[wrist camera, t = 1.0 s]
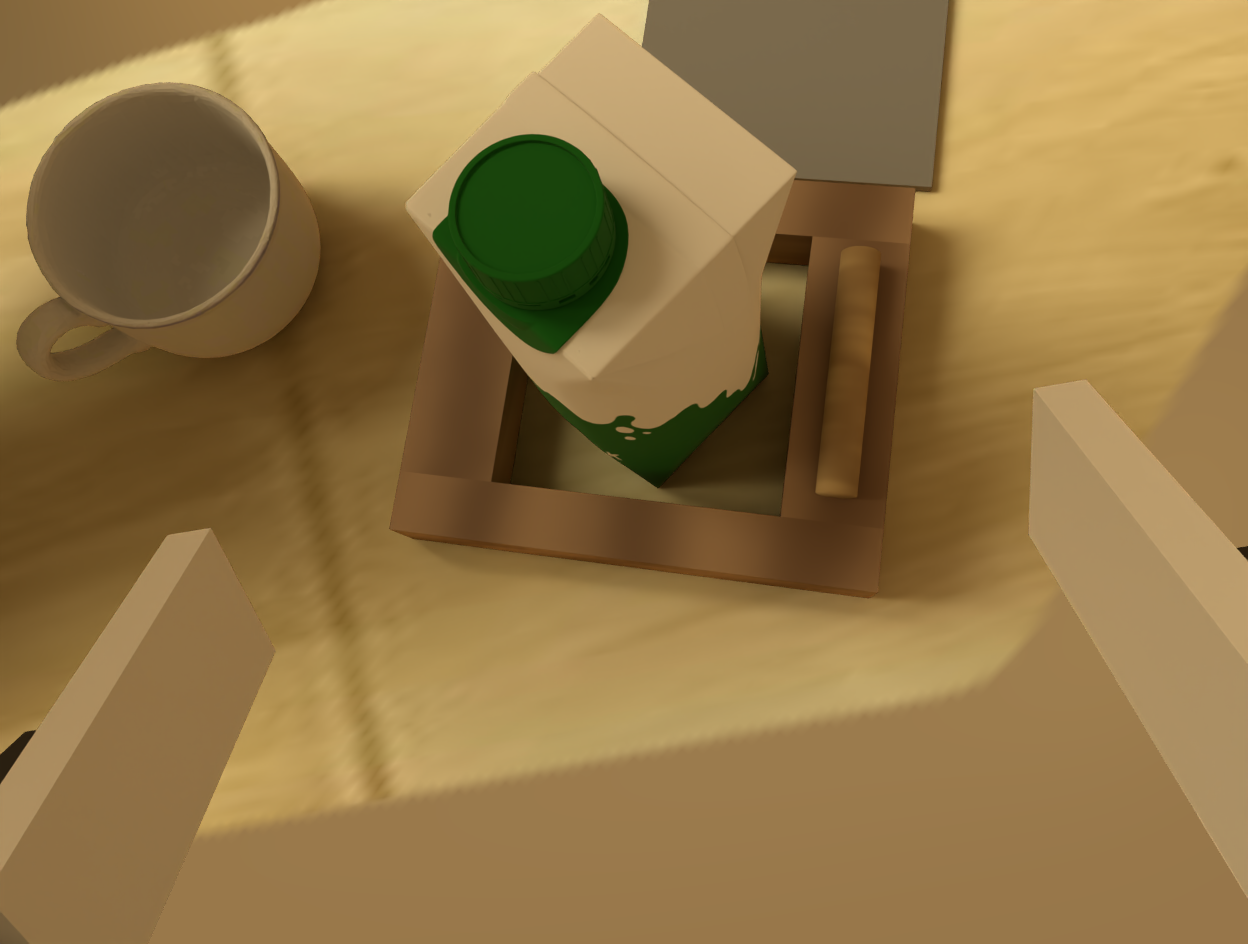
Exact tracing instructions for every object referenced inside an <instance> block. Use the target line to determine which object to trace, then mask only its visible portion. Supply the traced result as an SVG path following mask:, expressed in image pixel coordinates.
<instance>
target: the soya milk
mask: <svg viewBox="0 0 1248 944" xmlns="http://www.w3.org/2000/svg"><path fill="white" fill-rule="evenodd" d="M796 173H797V170H795V169H794V168H793V167H792V166H791V165H789V164H788V163H787V162H786V161H784V160H783V159H782V158H781V157H779V156H778V155H777V154H776V153H774V152H773V151H772V150H771V149H769V148H768V147H767V146H766V145H764V144H763V143H762V142H761V141H759V140H758V139H757V138H756V137H754V136H753V135H752V134H751V133H749V132H748V131H747V130H746V129H744V128H743V127H742V126H741V125H739V124H738V123H737V122H736V121H734V120H733V119H732V118H730V117H729V116H728V115H727V114H725V113H724V112H723V111H722V110H720V109H719V108H718V107H717V106H715V105H714V104H713V103H712V102H710V101H709V100H708V99H707V98H705V97H704V96H703V95H702V94H700V93H699V92H698V91H697V90H695V89H694V88H693V87H692V86H690V85H689V84H688V83H687V82H685V81H684V80H683V79H682V78H680V77H679V76H678V75H677V74H675V73H674V72H673V71H672V70H670V69H669V68H668V67H667V66H665V65H664V64H663V63H662V62H660V61H659V60H658V59H656V58H655V57H654V56H653V55H651V54H650V53H649V52H648V51H646V50H645V49H644V48H643V47H641V46H640V45H639V44H638V43H636V42H635V41H634V40H633V39H631V38H630V37H629V36H628V35H626V34H625V33H624V32H623V31H621V30H620V29H619V28H618V27H616V26H615V25H614V24H613V23H611V22H610V21H609V20H608V19H606V18H605V17H604V16H602V15H601V14H600V13H599V14H597V15H596V16H595V17H594V18H593V19H592V20H591V21H590V22H589V23H588V24H587V25H586V26H585V27H584V28H583V29H582V30H581V31H580V32H579V33H578V34H577V35H576V36H575V37H574V38H573V39H572V40H571V41H570V42H569V43H568V44H567V45H566V46H565V47H564V48H563V49H562V50H561V51H560V52H559V53H558V54H557V55H556V56H555V57H554V58H553V59H552V60H551V61H550V62H549V63H548V64H547V65H546V66H545V67H544V68H543V69H542V70H541V71H540V72H539V73H538V74H537V73H536V72H532V73H531V74H529V75H528V76H527V77H526V78H525V79H524V80H523V81H522V82H521V83H520V84H519V85H518V86H517V87H516V88H515V89H514V90H513V91H512V92H511V93H510V94H509V95H508V96H507V98H506V99H505V101H504V103H503V104H502V105H501V106H500V107H499V108H498V109H497V110H496V111H495V112H494V113H493V114H492V115H491V116H490V117H489V118H488V119H487V120H486V121H485V122H484V123H483V124H482V125H481V126H480V127H479V128H478V129H477V130H476V131H475V132H474V133H473V134H472V135H471V136H470V137H469V138H468V139H467V140H466V141H465V142H464V143H463V144H462V145H461V146H460V147H459V148H458V149H457V150H456V151H455V152H454V153H453V154H452V155H451V157H450V158H449V159H448V160H447V161H446V162H445V163H444V164H443V165H442V166H441V167H440V168H439V169H438V170H437V171H436V172H435V173H434V174H433V175H432V176H431V177H430V178H429V179H428V180H427V181H426V182H425V183H424V184H423V185H422V186H421V187H420V188H419V189H418V190H417V191H416V192H415V193H414V194H413V195H412V196H411V197H410V198H409V200H408V201H407V202H406V211H407V212H408V214H409V215H410V216H411V218H412V219H413V220H414V222H415V223H416V224H417V226H418V227H419V228H420V230H421V231H422V232H423V234H424V235H425V236H426V238H427V239H428V241H429V242H430V243H431V245H432V246H433V247H434V249H435V250H436V251H437V253H438V254H439V255H440V257H441V258H442V259H443V261H444V262H445V264H446V265H447V266H448V268H449V269H450V270H451V272H452V273H453V275H454V276H455V277H456V279H457V280H458V281H459V283H460V284H461V286H462V287H463V288H464V290H465V291H466V292H467V294H468V295H469V296H470V298H471V299H472V301H473V302H474V303H475V305H476V306H477V308H478V309H479V310H480V312H481V313H482V314H483V316H484V317H485V319H486V320H487V321H488V323H489V324H490V325H491V327H492V328H493V329H494V331H495V332H496V334H497V335H498V336H499V338H500V339H501V340H502V342H503V343H504V344H505V346H506V347H507V348H508V350H509V351H510V352H511V354H512V355H513V356H514V358H515V359H516V360H517V362H518V363H519V364H520V366H521V367H522V368H523V370H524V371H525V372H526V373H527V375H528V376H529V377H530V379H531V380H532V381H533V383H534V384H535V385H536V387H537V388H538V389H539V391H540V392H541V393H542V395H543V396H544V397H545V398H546V399H547V400H548V402H549V403H550V404H551V405H552V406H553V407H554V408H555V409H556V410H557V411H558V412H559V413H560V414H561V415H562V416H563V417H564V418H565V419H566V420H567V421H568V422H570V423H571V424H572V425H573V426H574V427H576V428H577V429H578V430H579V431H580V432H582V433H583V434H584V435H585V436H586V437H587V438H588V439H589V440H590V441H591V442H592V443H594V444H595V445H596V446H597V447H598V448H600V449H601V450H602V451H604V452H605V453H607V454H608V455H610V456H611V457H613V458H614V459H616V460H617V461H618V462H620V463H621V464H623V465H624V466H626V467H627V468H629V469H630V470H632V471H633V472H635V473H636V474H638V475H639V476H641V477H642V478H644V479H645V480H647V481H648V482H650V483H651V484H653V485H654V486H656V487H657V488H659V487H660V486H661V485H662V484H663V483H664V482H665V481H666V480H667V479H668V478H669V477H670V476H671V475H672V474H673V473H674V472H675V470H676V469H677V468H678V467H679V466H680V465H681V464H682V463H683V462H684V461H685V460H686V459H687V458H688V457H689V456H690V455H691V454H692V453H693V452H694V451H695V450H696V449H697V448H698V447H699V446H700V445H701V444H702V442H703V441H704V440H705V439H706V438H707V437H708V436H709V435H710V434H711V433H712V432H713V431H714V430H715V429H716V428H717V427H718V426H719V425H720V424H721V423H722V422H723V421H724V420H725V419H726V418H727V417H728V416H729V415H730V413H731V412H732V411H733V410H734V409H735V408H736V407H737V406H738V405H739V404H740V403H741V402H742V401H743V400H744V399H745V398H746V397H747V396H748V395H749V394H750V393H751V392H752V391H753V390H754V389H755V388H756V387H757V385H758V384H759V383H760V382H761V381H762V380H763V379H764V378H765V377H766V376H767V375H768V374H769V372H768V367H767V361H766V355H765V349H764V343H763V337H762V331H761V325H760V313H761V280H762V273H763V270H764V267H765V264H766V261H767V258H768V255H769V252H770V249H771V246H772V242H773V239H774V236H775V233H776V230H777V227H778V225H779V222H780V219H781V216H782V213H783V210H784V207H785V204H786V201H787V198H788V195H789V192H790V189H791V187H792V184H793V181H794V178H795V176H796Z"/></svg>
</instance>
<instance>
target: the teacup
mask: <svg viewBox="0 0 1248 944" xmlns="http://www.w3.org/2000/svg"><path fill="white" fill-rule="evenodd" d="M26 226H27V230H28V240H29V244H30V247H31V250H32V253H33V255H34V258H35V260H36V262H37V264H38V266H39V268H40V270H41V272H42V274H43V275H44V277H45V278H46V280H47V281H48V283H49V284H50V286H51V287H52V288H53V289H54V290H55V292H56V293H57V294H58V295H59V296H60V297H58V298H56V299H53V300H51V301H49V302H47V303H45V304H43V305H41V306H40V307H38V308H37V309H36V310H34V311H33V312H32V313H31V314H30V315H29V316H28V317H27V318H26V319H25V320H24V322H23V323H22V324H21V326H20V328H19V331H18V333H17V341H16V344H17V350H18V352H19V354H20V356H21V358H22V360H23V361H24V362H25V363H26V365H27V366H29V367H30V368H31V369H32V370H33V371H35V372H36V373H37V374H39V375H40V376H42V377H44V378H48V379H51V380H55V381H74V380H78V379H82V378H85V377H88V376H91V375H94V374H97V373H99V372H100V371H102V370H104V369H106V368H108V367H110V366H112V365H114V364H115V363H117V362H119V361H121V360H122V359H124V358H126V357H127V356H129V355H131V354H133V353H138V352H143V351H147V350H148V349H150V348H151V347H156V348H159V349H161V350H164V351H167V352H170V353H173V354H178V355H182V356H188V357H195V358H215V357H224V356H229V355H234V354H238V353H241V352H244V351H247V350H249V349H252V348H254V347H257V346H258V345H260V344H262V343H264V342H266V341H267V340H269V339H271V338H272V337H274V336H275V335H276V334H277V333H279V332H280V331H281V330H282V329H283V328H285V327H286V326H287V325H288V324H289V323H290V322H291V321H292V319H293V318H294V317H295V316H296V315H297V314H298V312H299V311H300V309H301V308H302V307H303V305H304V304H305V302H306V300H307V298H308V296H309V294H310V293H311V290H312V288H313V285H314V282H315V279H316V276H317V273H318V269H319V263H320V232H319V227H318V223H317V218H316V215H315V212H314V209H313V207H312V204H311V202H310V200H309V198H308V196H307V194H306V192H305V191H304V189H303V187H302V186H301V184H300V183H299V181H298V180H297V178H296V177H295V175H294V174H293V172H292V171H291V170H290V168H289V167H288V166H287V165H286V163H285V162H284V161H283V159H282V158H281V157H280V156H279V155H278V153H277V152H276V151H275V150H274V149H273V147H272V146H271V145H270V144H269V143H268V141H267V139H266V137H265V136H264V134H263V133H262V131H261V130H260V128H259V127H258V125H257V124H256V123H255V122H254V121H253V120H252V118H251V117H250V116H249V115H248V114H247V113H246V112H245V111H244V110H243V109H241V108H240V107H239V106H237V105H236V104H234V103H233V102H232V101H230V100H229V99H227V98H225V97H223V96H222V95H220V94H218V93H216V92H213V91H211V90H208V89H205V88H202V87H199V86H195V85H190V84H183V83H170V82H168V83H155V84H145V85H141V86H137V87H132V88H128V89H125V90H122V91H120V92H118V93H115V94H112V95H110V96H107V97H106V98H104V99H102V100H100V101H98V102H96V103H94V104H93V105H91V106H90V107H88V108H86V109H85V110H84V111H83V112H82V113H81V114H79V115H78V116H76V117H75V118H74V119H73V120H72V121H71V122H69V123H68V124H67V125H66V126H65V127H64V129H63V131H62V132H60V133H59V134H58V135H57V136H56V137H55V139H54V141H53V143H52V145H51V146H50V147H49V149H48V150H47V151H46V153H45V154H44V156H43V157H42V159H41V162H40V164H39V166H38V168H37V170H36V172H35V174H34V177H33V180H32V183H31V187H30V192H29V197H28V202H27V215H26ZM88 325H89V326H96V327H102V326H107V325H110V326H113V328H112V329H110V330H109V331H107V332H105V333H103V334H102V335H100V336H98V337H97V338H95V339H93V340H91V341H90V342H88V343H86V344H83V345H81V346H79V347H76V348H74V349H70V350H66V351H63V352H57V353H50V351H51V348H52V346H53V344H54V343H55V342H56V341H57V339H58V338H59V337H61V336H62V335H63V334H65V333H66V332H67V331H69V330H71V329H73V328H77V327H80V326H88Z"/></svg>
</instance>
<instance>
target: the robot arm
mask: <svg viewBox="0 0 1248 944" xmlns="http://www.w3.org/2000/svg"><path fill="white" fill-rule="evenodd" d="M1028 535H1029V536H1030V538H1031V540H1032V541H1033V543H1034V545H1035V546H1036V548H1037V550H1038V551H1039V553H1040V555H1041V556H1042V558H1043V560H1044V561H1045V563H1046V565H1047V566H1048V568H1049V569H1050V571H1051V573H1052V574H1053V576H1054V578H1055V579H1056V581H1057V583H1058V584H1059V586H1060V588H1061V589H1062V591H1063V593H1064V594H1065V596H1066V598H1067V599H1068V601H1069V603H1070V604H1071V606H1072V608H1073V609H1074V611H1075V613H1076V614H1077V616H1078V618H1079V619H1080V621H1081V623H1082V624H1083V626H1084V628H1085V629H1086V631H1087V633H1088V634H1089V636H1090V638H1091V639H1092V641H1093V643H1094V644H1095V646H1096V647H1097V649H1098V651H1099V653H1100V654H1101V656H1102V657H1103V659H1104V661H1105V663H1106V664H1107V666H1108V667H1109V669H1110V671H1111V673H1112V674H1113V676H1114V678H1115V679H1116V681H1117V683H1118V684H1119V686H1120V687H1121V689H1122V691H1123V692H1124V694H1125V696H1126V697H1127V699H1128V701H1129V702H1130V704H1131V706H1132V707H1133V709H1134V711H1135V712H1136V714H1137V716H1138V717H1139V719H1140V721H1141V722H1142V724H1143V726H1144V727H1145V729H1146V731H1147V732H1148V734H1149V735H1150V737H1151V739H1152V741H1153V742H1154V744H1155V746H1156V747H1157V749H1158V751H1159V752H1160V754H1161V756H1162V757H1163V759H1164V761H1165V762H1166V764H1167V766H1168V767H1169V769H1170V770H1171V772H1172V774H1173V775H1174V777H1175V779H1176V781H1177V782H1178V784H1179V785H1180V787H1181V789H1182V791H1183V792H1184V794H1185V795H1186V797H1187V799H1188V800H1189V802H1190V804H1191V805H1192V807H1193V809H1194V810H1195V812H1196V814H1197V815H1198V817H1199V819H1200V820H1201V822H1202V824H1203V825H1204V827H1205V829H1206V830H1207V832H1208V833H1209V835H1210V837H1211V839H1212V840H1213V842H1214V844H1215V845H1216V847H1217V849H1218V850H1219V852H1220V854H1221V855H1222V857H1223V859H1224V860H1225V862H1226V864H1227V865H1228V867H1229V868H1230V870H1231V872H1232V874H1233V875H1234V877H1235V879H1236V880H1237V882H1238V884H1239V885H1240V887H1241V888H1242V890H1243V892H1244V894H1245V895H1246V897H1247V899H1248V546H1247V547H1240V548H1236V547H1235V546H1234V545H1233V544H1232V543H1231V541H1229V539H1228V538H1227V537H1226V536H1225V535H1224V534H1223V533H1222V531H1221V530H1220V529H1219V528H1218V527H1217V526H1216V525H1215V524H1214V522H1213V521H1212V520H1211V519H1210V518H1209V517H1208V516H1207V515H1206V514H1205V512H1204V511H1203V510H1202V509H1201V508H1200V507H1199V506H1198V504H1197V503H1196V502H1195V501H1194V500H1193V499H1192V498H1191V497H1190V495H1189V494H1188V493H1187V492H1186V491H1185V490H1184V489H1183V488H1182V486H1181V485H1180V484H1179V483H1178V482H1177V481H1176V480H1175V479H1174V478H1173V476H1172V475H1171V474H1170V473H1169V472H1168V471H1167V470H1166V469H1165V467H1164V466H1163V465H1162V464H1161V463H1160V462H1159V461H1158V460H1157V458H1156V457H1155V456H1154V455H1153V454H1152V453H1151V452H1150V451H1149V449H1148V448H1147V447H1146V446H1145V445H1144V444H1143V443H1142V442H1141V440H1140V439H1139V438H1138V437H1137V436H1136V435H1135V434H1134V433H1133V431H1132V430H1131V429H1130V428H1129V427H1128V426H1127V425H1126V424H1125V423H1124V421H1123V420H1122V419H1121V418H1120V417H1119V416H1118V415H1117V414H1116V412H1115V411H1114V410H1113V409H1112V408H1111V407H1110V406H1109V405H1108V403H1107V402H1106V401H1105V400H1104V399H1103V398H1102V397H1101V396H1100V394H1099V393H1098V392H1097V391H1096V390H1095V389H1094V388H1093V387H1092V385H1091V384H1090V383H1089V382H1088V381H1087V380H1086V379H1085V380H1079V381H1073V382H1067V383H1062V384H1056V385H1050V386H1044V387H1038V388H1033V414H1032V444H1031V473H1030V503H1029V533H1028ZM274 653H275V649H274V647H273V645H272V643H271V641H270V639H269V637H268V635H267V633H266V631H265V630H264V628H263V626H262V624H261V622H260V620H259V618H258V616H257V614H256V612H255V611H254V609H253V607H252V605H251V603H250V601H249V599H248V597H247V595H246V593H245V591H244V590H243V588H242V586H241V584H240V582H239V580H238V578H237V576H236V574H235V572H234V570H233V569H232V567H231V565H230V563H229V561H228V559H227V557H226V555H225V553H224V551H223V550H222V548H221V546H220V544H219V542H218V540H217V538H216V536H215V534H214V532H213V530H212V529H211V528H206V529H200V530H194V531H188V532H182V533H176V534H170V535H167V536H166V538H165V539H164V541H163V542H162V544H161V545H160V547H159V548H158V550H157V551H156V553H155V554H154V556H153V557H152V559H151V560H150V562H149V563H148V565H147V566H146V568H145V569H144V571H143V572H142V573H141V575H140V576H139V578H138V579H137V581H136V582H135V584H134V585H133V587H132V588H131V590H130V591H129V593H128V594H127V596H126V597H125V599H124V600H123V602H122V603H121V605H120V606H119V608H118V609H117V611H116V612H115V614H114V615H113V617H112V618H111V620H110V621H109V623H108V624H107V626H106V627H105V629H104V630H103V632H102V633H101V635H100V636H99V638H98V639H97V641H96V642H95V644H94V645H93V647H92V648H91V650H90V651H89V653H88V654H87V656H86V657H85V659H84V660H83V662H82V663H81V665H80V666H79V668H78V669H77V671H76V672H75V674H74V675H73V677H72V678H71V680H70V681H69V682H68V684H67V685H66V687H65V688H64V690H63V691H62V693H61V694H60V696H59V697H58V699H57V700H56V702H55V703H54V705H53V706H52V708H51V709H50V711H49V712H48V714H47V715H46V717H45V718H44V720H43V721H42V723H41V724H40V726H39V727H38V729H37V730H34V731H27V732H24V733H23V734H22V735H21V736H20V737H19V738H18V739H17V740H16V741H15V742H14V743H13V744H11V745H10V746H9V747H8V748H7V749H6V750H5V751H4V752H3V753H2V754H1V755H0V944H148V943H149V940H150V938H151V936H152V933H153V931H154V929H155V927H156V924H157V922H158V920H159V918H160V915H161V913H162V911H163V908H164V906H165V904H166V901H167V899H168V897H169V894H170V892H171V890H172V888H173V885H174V883H175V881H176V878H177V876H178V874H179V871H180V869H181V867H182V865H183V862H184V860H185V858H186V855H187V853H188V851H189V849H190V846H191V844H192V842H193V839H194V837H195V835H196V833H197V830H198V828H199V826H200V823H201V821H202V819H203V816H204V814H205V812H206V810H207V807H208V805H209V803H210V800H211V798H212V796H213V794H214V791H215V789H216V787H217V784H218V782H219V780H220V777H221V775H222V773H223V771H224V768H225V766H226V764H227V761H228V759H229V757H230V754H231V752H232V750H233V748H234V745H235V743H236V741H237V738H238V736H239V734H240V731H241V729H242V727H243V725H244V722H245V720H246V718H247V715H248V713H249V711H250V709H251V706H252V704H253V702H254V699H255V697H256V695H257V692H258V690H259V688H260V686H261V683H262V681H263V679H264V676H265V674H266V672H267V669H268V667H269V665H270V663H271V660H272V658H273V656H274Z"/></svg>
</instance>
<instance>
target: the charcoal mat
mask: <svg viewBox="0 0 1248 944" xmlns="http://www.w3.org/2000/svg"><path fill="white" fill-rule="evenodd" d="M948 2H949V0H649V5H648V11H647V18H646V24H645V31H644V37H643V44H642V47H643V48H644V49H645V50H646V51H648V52H649V53H650V54H651V55H653V56H654V57H655V58H656V59H658V60H659V61H660V62H662V63H663V64H664V65H665V66H667V67H668V68H669V69H670V70H672V71H673V72H674V73H675V74H677V75H678V76H679V77H680V78H682V79H683V80H684V81H685V82H687V83H688V84H689V85H690V86H692V87H693V88H694V89H695V90H697V91H698V92H699V93H700V94H702V95H703V96H704V97H705V98H707V99H708V100H709V101H710V102H712V103H713V104H714V105H715V106H717V107H718V108H719V109H720V110H722V111H723V112H724V113H725V114H727V115H728V116H729V117H730V118H732V119H733V120H734V121H736V122H737V123H738V124H739V125H741V126H742V127H743V128H744V129H746V130H747V131H748V132H749V133H751V134H752V135H753V136H754V137H756V138H757V139H758V140H759V141H761V142H762V143H763V144H764V145H766V146H767V147H768V148H769V149H771V150H772V151H773V152H774V153H776V154H777V155H778V156H779V157H781V158H782V159H783V160H784V161H786V162H787V163H788V164H789V165H791V166H792V167H793V168H794V169H795V170H797V173H796V176H795V178H794V180H801V181H815V182H830V183H845V184H860V185H875V186H890V187H905V188H916V189H915V190H917V191H931V188H932V179H933V168H934V157H935V146H936V135H937V124H938V113H939V102H940V91H941V79H942V68H943V57H944V46H945V35H946V24H947V13H948Z"/></svg>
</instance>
